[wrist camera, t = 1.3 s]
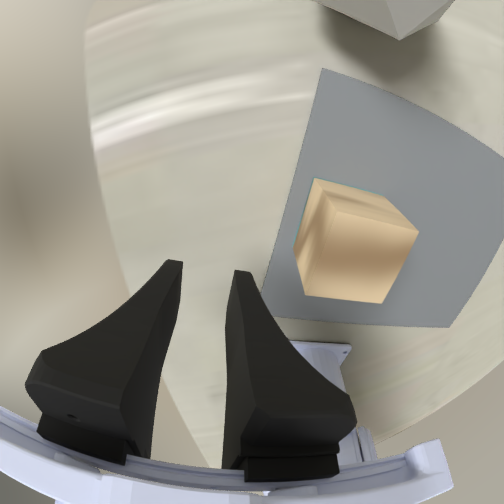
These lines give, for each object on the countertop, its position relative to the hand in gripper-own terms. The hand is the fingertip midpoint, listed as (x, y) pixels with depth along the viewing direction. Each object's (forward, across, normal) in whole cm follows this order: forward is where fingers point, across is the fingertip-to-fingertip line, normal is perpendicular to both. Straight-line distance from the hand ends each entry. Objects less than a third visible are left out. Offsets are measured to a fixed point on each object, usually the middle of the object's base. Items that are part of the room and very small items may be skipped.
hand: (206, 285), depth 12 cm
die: (+10, -6, -17) cm, 20 cm away
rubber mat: (+9, -16, 0) cm, 19 cm away
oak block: (+9, -8, 0) cm, 13 cm away
